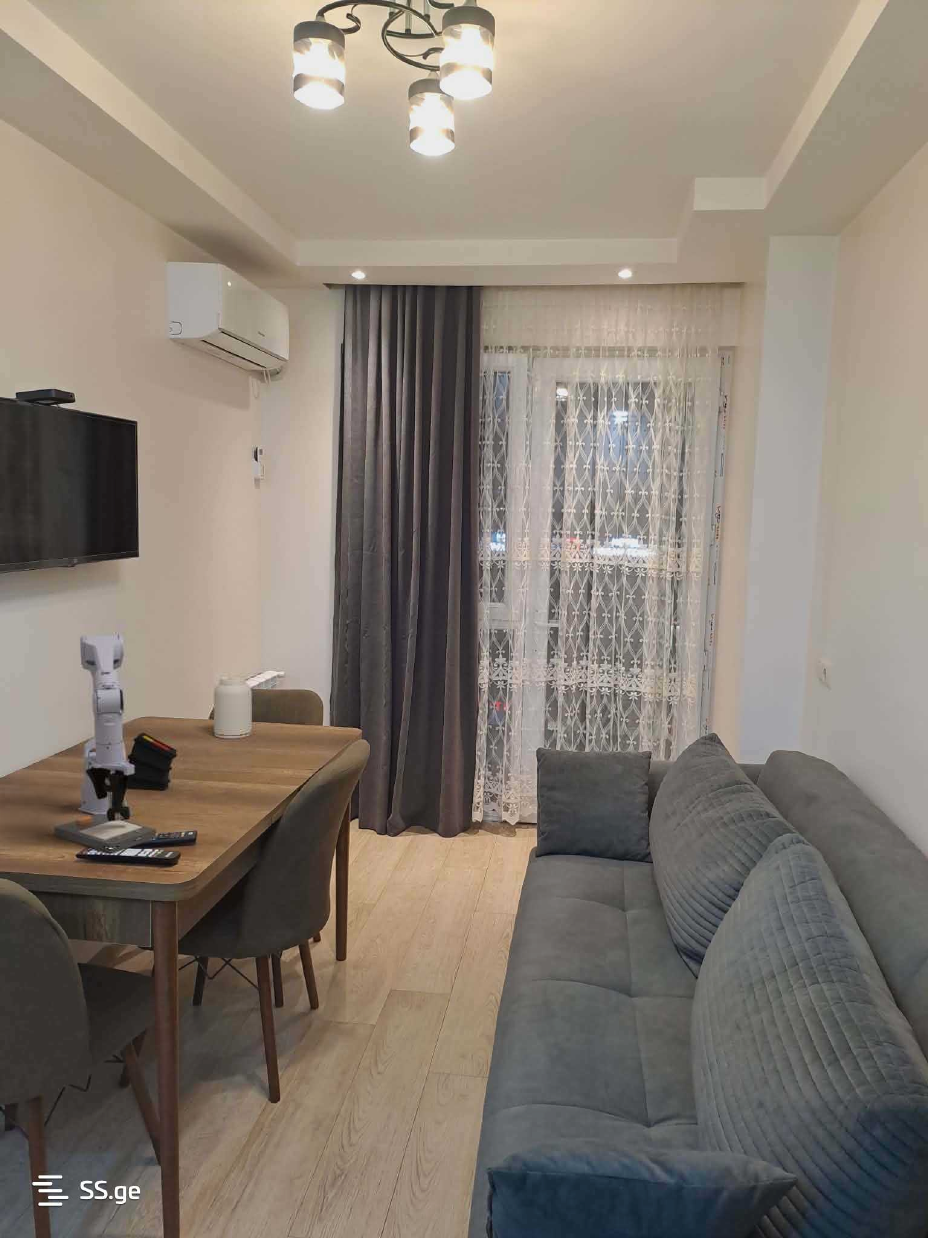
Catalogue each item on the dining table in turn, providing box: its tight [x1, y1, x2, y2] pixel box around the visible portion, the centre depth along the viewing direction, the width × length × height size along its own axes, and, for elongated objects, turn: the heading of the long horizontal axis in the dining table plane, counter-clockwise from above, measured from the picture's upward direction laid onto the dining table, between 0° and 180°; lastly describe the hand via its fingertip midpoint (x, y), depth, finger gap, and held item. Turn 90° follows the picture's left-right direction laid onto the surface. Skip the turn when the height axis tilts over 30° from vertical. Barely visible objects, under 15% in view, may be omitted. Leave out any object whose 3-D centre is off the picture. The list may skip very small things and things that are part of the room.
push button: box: [100, 777, 132, 822], centre depth 202 cm, size 7×5×10 cm
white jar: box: [213, 675, 253, 740], centre depth 303 cm, size 12×12×20 cm
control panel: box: [53, 813, 157, 854], centre depth 203 cm, size 20×12×3 cm, turn 59°
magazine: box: [126, 732, 178, 791], centre depth 240 cm, size 4×13×15 cm, turn 84°
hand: (110, 800), depth 201 cm, fingers closed on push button, 5 cm apart
